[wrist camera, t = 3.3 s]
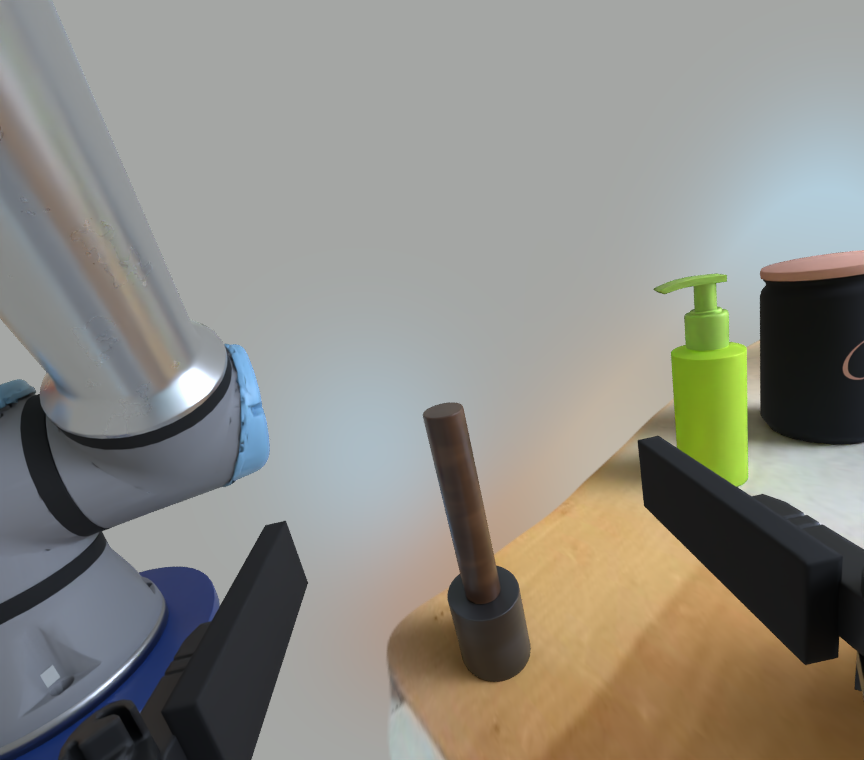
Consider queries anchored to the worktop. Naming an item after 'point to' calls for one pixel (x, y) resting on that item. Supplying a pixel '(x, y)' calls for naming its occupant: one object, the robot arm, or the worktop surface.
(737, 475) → the soap dispenser
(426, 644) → the worktop surface
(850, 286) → the coffee jar
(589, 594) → the worktop surface
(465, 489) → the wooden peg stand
